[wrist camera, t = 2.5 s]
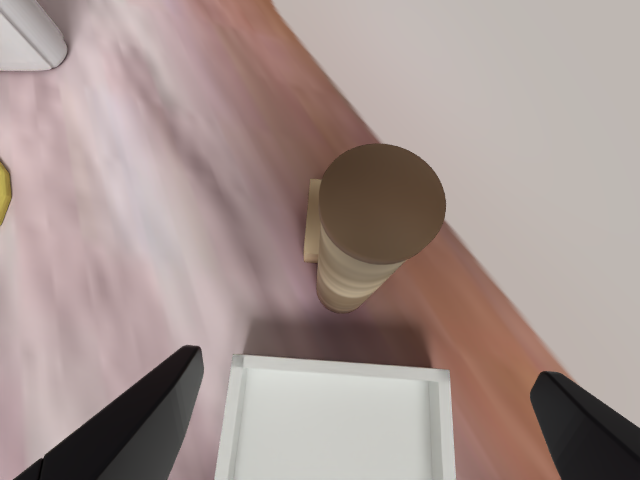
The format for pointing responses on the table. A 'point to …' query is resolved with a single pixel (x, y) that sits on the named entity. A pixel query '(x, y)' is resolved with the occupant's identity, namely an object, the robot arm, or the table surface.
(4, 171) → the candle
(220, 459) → the tray
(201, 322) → the table surface
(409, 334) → the table surface
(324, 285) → the tan cylinder with block
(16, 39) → the gravestone
